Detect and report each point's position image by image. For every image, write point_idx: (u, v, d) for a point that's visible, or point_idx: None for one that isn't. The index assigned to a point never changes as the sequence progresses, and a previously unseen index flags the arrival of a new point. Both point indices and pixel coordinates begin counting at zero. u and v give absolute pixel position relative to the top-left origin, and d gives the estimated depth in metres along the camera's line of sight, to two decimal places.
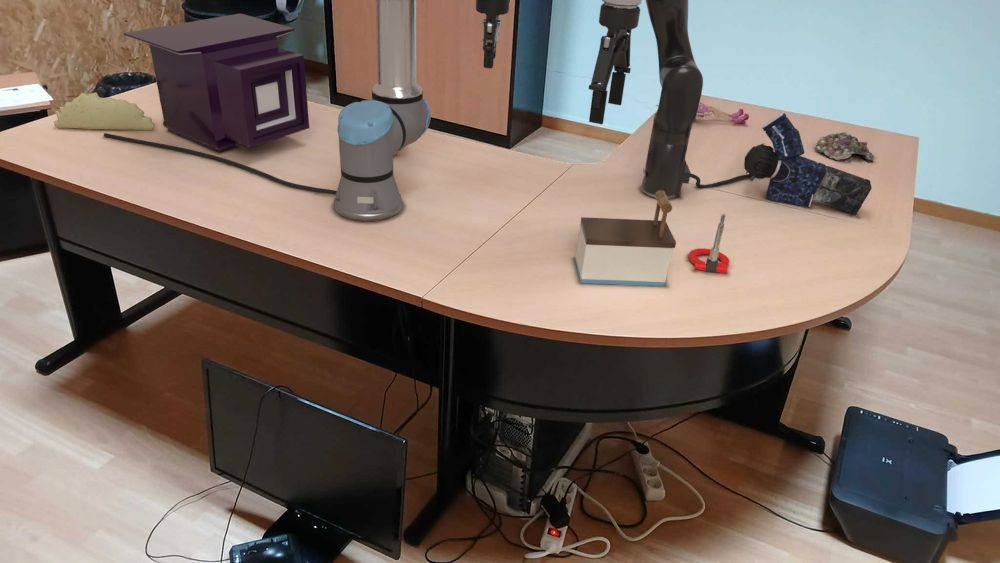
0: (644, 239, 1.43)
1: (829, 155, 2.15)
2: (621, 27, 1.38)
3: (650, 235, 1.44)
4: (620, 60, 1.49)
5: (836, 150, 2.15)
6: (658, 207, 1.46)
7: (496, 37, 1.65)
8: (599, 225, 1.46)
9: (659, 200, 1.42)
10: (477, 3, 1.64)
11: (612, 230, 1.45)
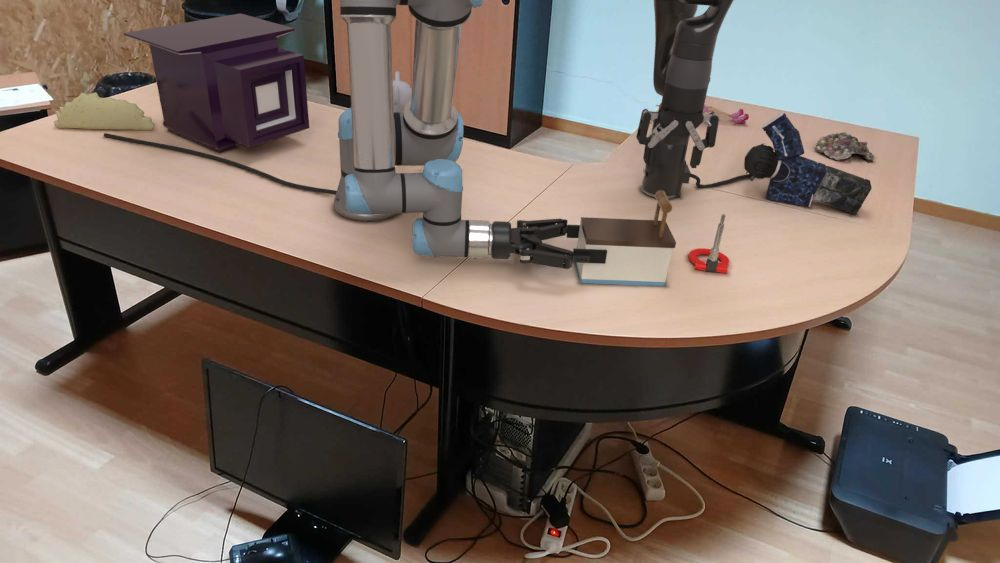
0: (644, 239, 1.43)
1: (829, 155, 2.15)
2: None
3: (650, 235, 1.44)
4: None
5: (836, 150, 2.15)
6: (658, 207, 1.46)
7: None
8: (599, 225, 1.46)
9: (659, 199, 1.42)
10: (697, 103, 1.29)
11: (612, 230, 1.45)
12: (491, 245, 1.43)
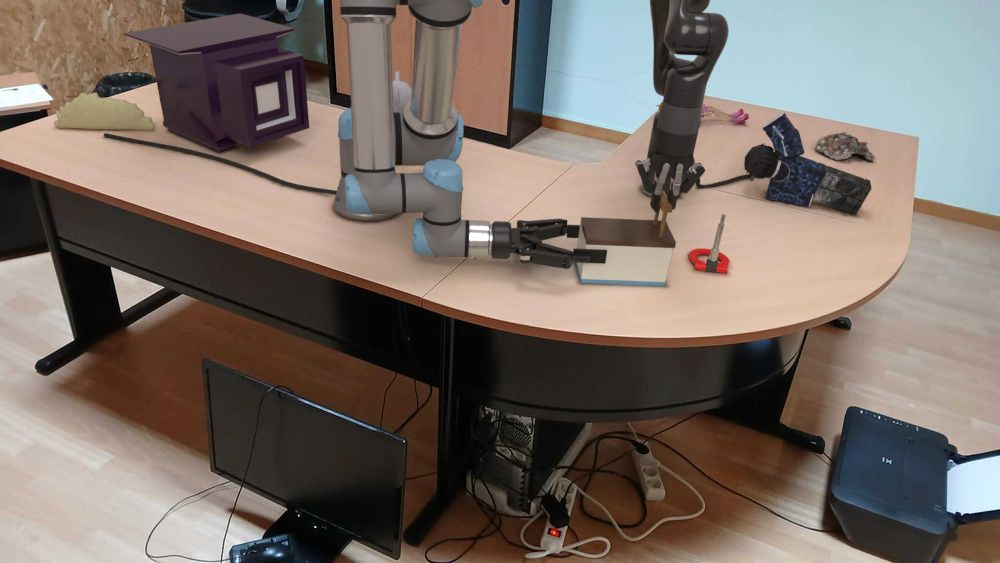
0: (644, 239, 1.43)
1: (829, 155, 2.15)
2: None
3: (650, 235, 1.44)
4: None
5: (836, 150, 2.15)
6: None
7: None
8: (599, 225, 1.46)
9: None
10: (688, 147, 1.33)
11: (612, 230, 1.45)
12: (491, 245, 1.43)
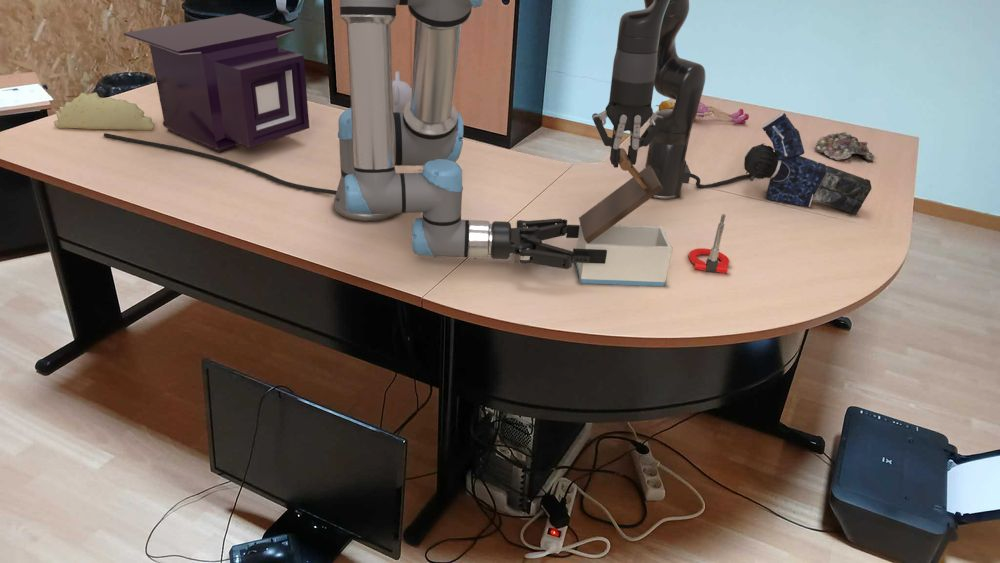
0: (631, 203, 1.38)
1: (829, 155, 2.15)
2: None
3: (636, 193, 1.39)
4: None
5: (836, 150, 2.15)
6: None
7: None
8: (594, 215, 1.45)
9: None
10: (644, 97, 1.28)
11: (604, 213, 1.43)
12: (491, 245, 1.43)
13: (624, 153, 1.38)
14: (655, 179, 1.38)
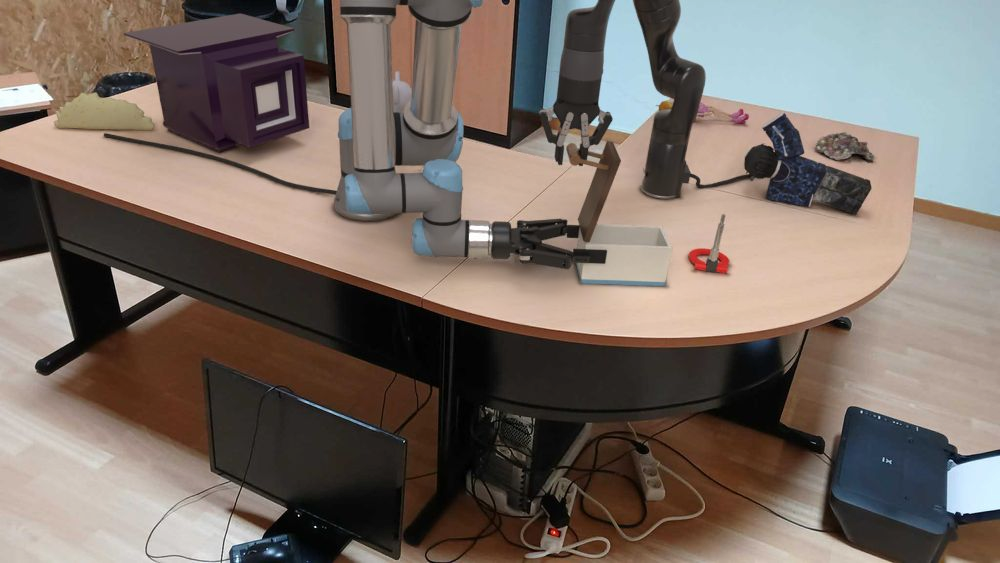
0: (602, 188, 1.36)
1: (829, 155, 2.15)
2: None
3: (604, 176, 1.37)
4: None
5: (836, 150, 2.15)
6: None
7: None
8: (585, 212, 1.45)
9: None
10: (590, 95, 1.28)
11: (590, 206, 1.42)
12: (491, 245, 1.43)
13: (571, 148, 1.37)
14: (612, 154, 1.35)
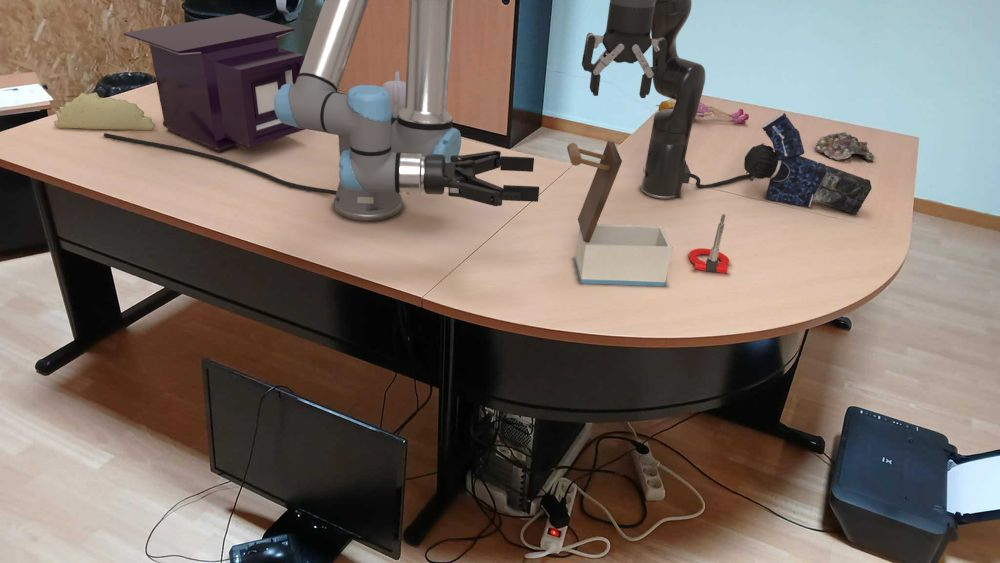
0: (603, 188, 1.36)
1: (829, 155, 2.15)
2: None
3: (605, 176, 1.37)
4: None
5: (836, 150, 2.15)
6: (584, 153, 1.39)
7: None
8: (585, 212, 1.45)
9: None
10: (643, 23, 1.22)
11: (590, 207, 1.42)
12: (423, 178, 1.35)
13: (572, 148, 1.37)
14: (613, 155, 1.35)
